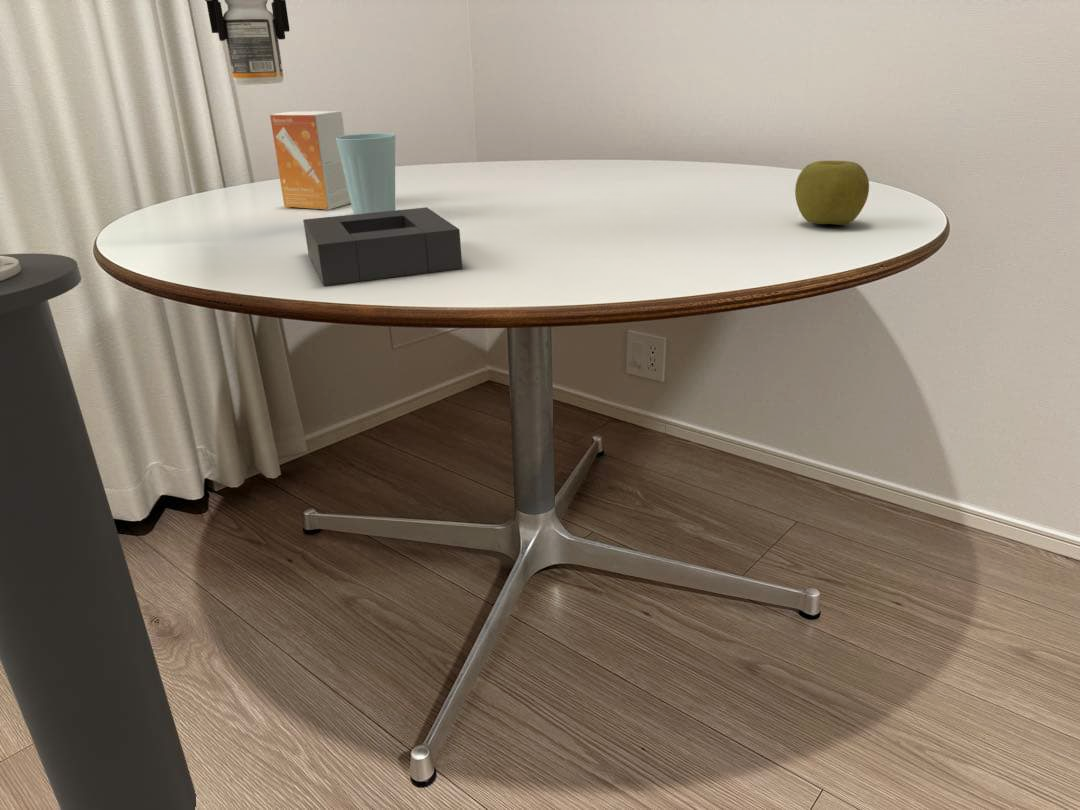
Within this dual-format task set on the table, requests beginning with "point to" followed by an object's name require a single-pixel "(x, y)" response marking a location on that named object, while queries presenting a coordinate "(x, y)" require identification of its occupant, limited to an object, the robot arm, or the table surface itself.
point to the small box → (310, 158)
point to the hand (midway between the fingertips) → (252, 38)
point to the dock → (381, 245)
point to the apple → (831, 192)
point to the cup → (369, 171)
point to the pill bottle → (252, 43)
